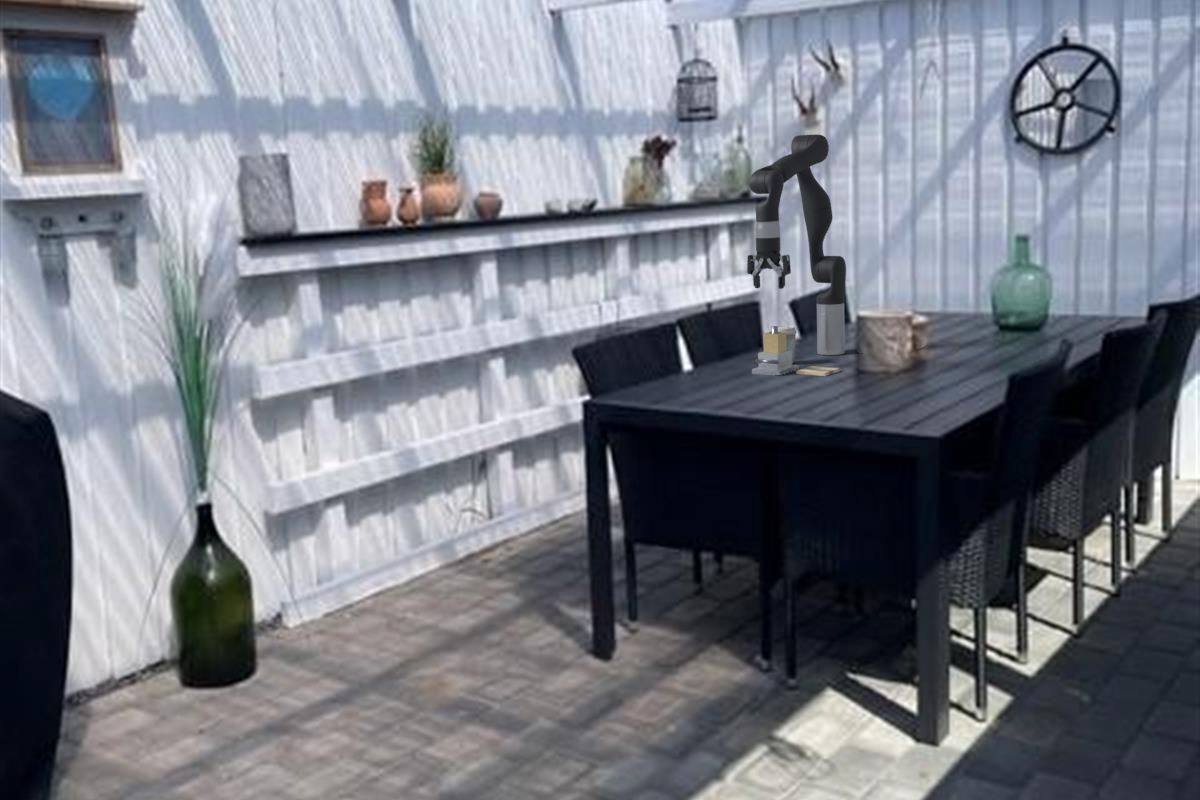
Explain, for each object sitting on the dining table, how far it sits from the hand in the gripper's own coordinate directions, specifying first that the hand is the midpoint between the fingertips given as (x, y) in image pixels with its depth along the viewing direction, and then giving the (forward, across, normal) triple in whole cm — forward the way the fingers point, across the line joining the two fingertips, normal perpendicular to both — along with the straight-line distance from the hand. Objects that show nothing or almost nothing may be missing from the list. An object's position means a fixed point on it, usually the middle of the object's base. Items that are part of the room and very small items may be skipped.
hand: (769, 288), depth 401 cm
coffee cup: (+27, +5, -17) cm, 32 cm away
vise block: (+27, -1, -1) cm, 27 cm away
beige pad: (+27, -14, -5) cm, 30 cm away
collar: (+20, -1, -1) cm, 20 cm away
